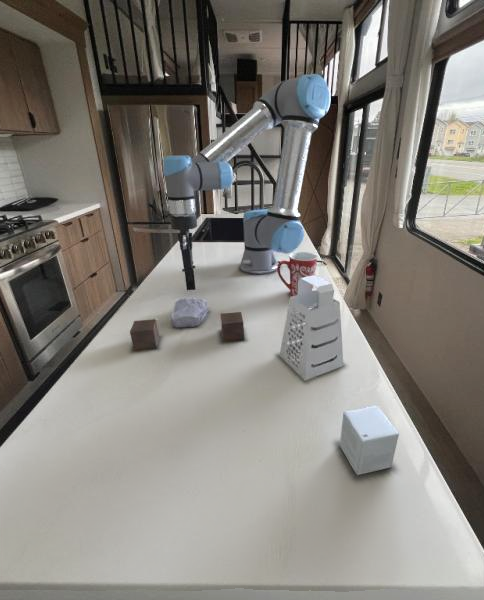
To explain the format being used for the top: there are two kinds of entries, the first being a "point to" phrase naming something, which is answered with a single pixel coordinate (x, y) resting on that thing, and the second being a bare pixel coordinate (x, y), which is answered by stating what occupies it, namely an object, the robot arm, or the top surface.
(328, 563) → the top surface
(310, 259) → the mug
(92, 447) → the top surface
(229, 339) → the walnut block
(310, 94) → the robot arm
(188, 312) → the stone block
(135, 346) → the walnut block
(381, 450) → the product box
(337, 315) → the grater
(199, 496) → the top surface
